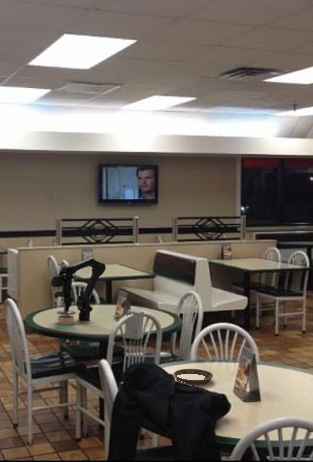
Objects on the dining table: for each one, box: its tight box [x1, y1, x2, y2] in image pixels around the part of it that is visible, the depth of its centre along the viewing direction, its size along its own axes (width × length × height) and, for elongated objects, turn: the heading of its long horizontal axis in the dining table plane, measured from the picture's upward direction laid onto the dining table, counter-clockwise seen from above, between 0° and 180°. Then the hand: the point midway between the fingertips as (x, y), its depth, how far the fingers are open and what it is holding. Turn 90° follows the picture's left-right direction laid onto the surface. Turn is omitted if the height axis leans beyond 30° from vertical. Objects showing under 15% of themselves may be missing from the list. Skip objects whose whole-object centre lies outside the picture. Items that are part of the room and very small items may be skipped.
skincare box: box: [124, 309, 145, 341], centre depth 358 cm, size 8×7×16 cm
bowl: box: [57, 314, 75, 324], centre depth 391 cm, size 10×10×4 cm
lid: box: [56, 304, 76, 316], centre depth 390 cm, size 12×12×5 cm
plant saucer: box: [173, 368, 214, 385], centre depth 282 cm, size 18×18×3 cm
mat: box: [53, 323, 77, 330], centre depth 379 cm, size 12×12×1 cm
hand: (66, 310), depth 390 cm, fingers closed on lid, 3 cm apart
